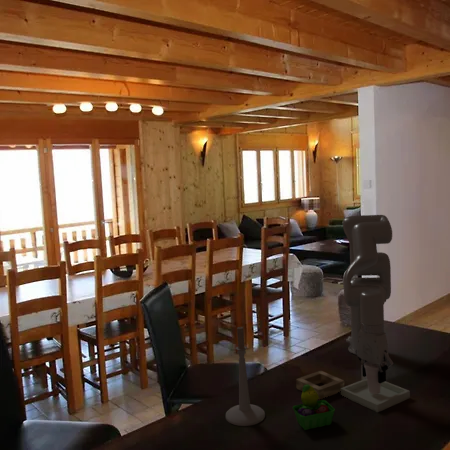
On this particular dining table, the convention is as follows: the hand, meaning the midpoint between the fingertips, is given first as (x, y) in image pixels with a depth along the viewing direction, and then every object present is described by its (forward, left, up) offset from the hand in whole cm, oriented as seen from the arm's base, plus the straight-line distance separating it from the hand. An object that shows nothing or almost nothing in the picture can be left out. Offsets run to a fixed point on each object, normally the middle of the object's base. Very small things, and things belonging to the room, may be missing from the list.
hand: (374, 378), depth 168 cm
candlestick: (-17, -42, -7) cm, 46 cm away
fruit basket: (0, -28, -7) cm, 29 cm away
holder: (-16, -10, -6) cm, 20 cm away
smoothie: (0, 0, -5) cm, 5 cm away
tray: (0, 0, -6) cm, 6 cm away
